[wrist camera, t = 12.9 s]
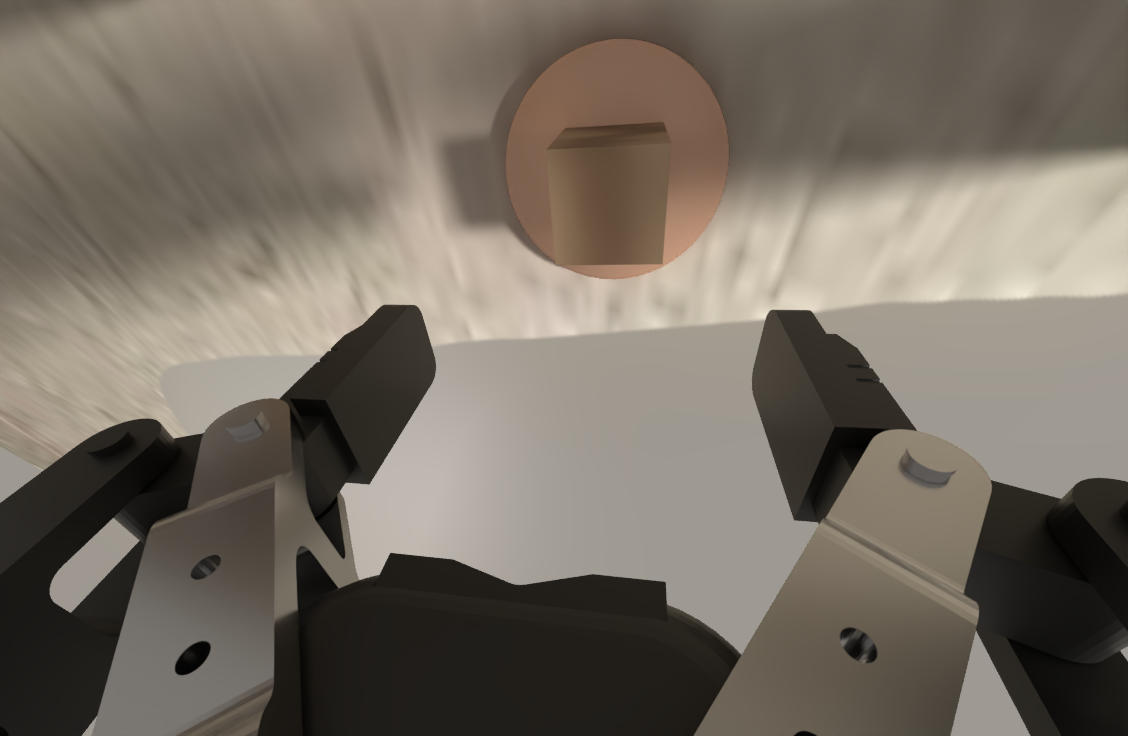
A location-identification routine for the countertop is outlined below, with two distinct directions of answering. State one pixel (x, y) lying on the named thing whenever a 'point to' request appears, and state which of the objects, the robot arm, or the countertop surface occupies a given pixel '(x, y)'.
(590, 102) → the dish
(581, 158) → the walnut block
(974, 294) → the countertop surface
